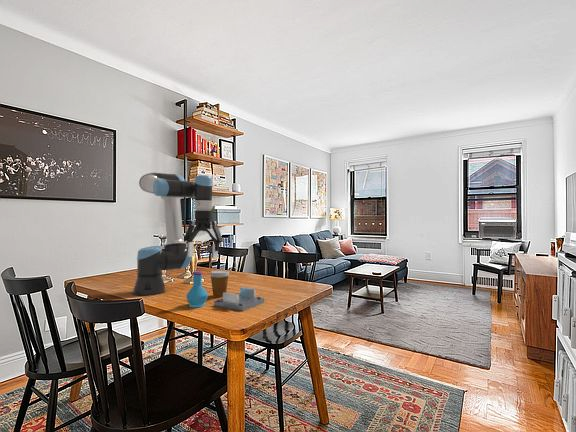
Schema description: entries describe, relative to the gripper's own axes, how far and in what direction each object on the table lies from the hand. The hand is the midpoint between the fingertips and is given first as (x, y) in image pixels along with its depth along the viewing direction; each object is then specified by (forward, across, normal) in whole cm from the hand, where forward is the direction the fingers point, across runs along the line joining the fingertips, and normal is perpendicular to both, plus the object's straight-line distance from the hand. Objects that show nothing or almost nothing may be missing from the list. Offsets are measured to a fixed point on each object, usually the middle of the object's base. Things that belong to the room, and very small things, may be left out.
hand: (202, 257), depth 145 cm
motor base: (+21, +15, +7) cm, 27 cm away
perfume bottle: (+21, -1, -2) cm, 21 cm away
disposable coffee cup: (+21, -2, +16) cm, 27 cm away
